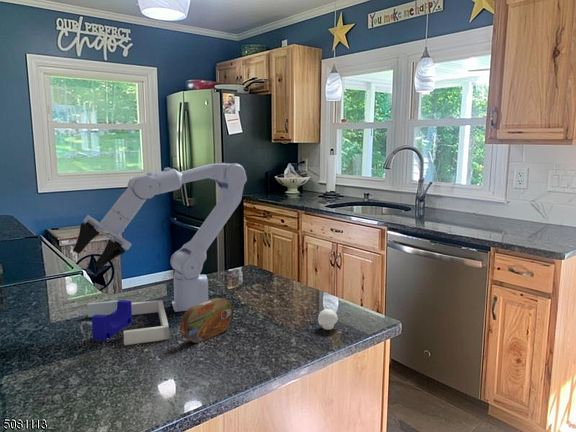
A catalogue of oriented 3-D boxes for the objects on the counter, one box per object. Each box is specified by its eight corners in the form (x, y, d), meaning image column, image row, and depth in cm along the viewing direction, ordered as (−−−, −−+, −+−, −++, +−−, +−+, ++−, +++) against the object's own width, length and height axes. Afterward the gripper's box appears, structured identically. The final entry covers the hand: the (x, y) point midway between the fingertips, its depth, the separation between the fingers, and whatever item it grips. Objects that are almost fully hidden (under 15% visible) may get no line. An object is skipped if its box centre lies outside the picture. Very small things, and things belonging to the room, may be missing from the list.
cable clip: (116, 321, 114) (115, 299, 113) (132, 322, 113) (131, 300, 112) (87, 340, 102) (85, 316, 101) (104, 342, 101) (103, 317, 101)
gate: (122, 314, 119) (121, 299, 118) (88, 318, 116) (87, 303, 115) (122, 312, 119) (122, 298, 119) (88, 316, 116) (87, 302, 116)
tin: (187, 348, 98) (186, 312, 97) (178, 344, 100) (177, 309, 99) (234, 327, 110) (234, 295, 109) (225, 324, 112) (225, 292, 111)
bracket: (162, 309, 122) (162, 299, 121) (169, 339, 103) (168, 327, 102) (124, 314, 118) (123, 303, 118) (124, 345, 99) (123, 332, 99)
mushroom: (323, 333, 107) (324, 314, 106) (314, 326, 111) (314, 307, 110) (341, 330, 109) (341, 311, 108) (331, 323, 113) (331, 305, 112)
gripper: (92, 196, 110) (56, 240, 107) (134, 223, 106) (98, 270, 103) (106, 206, 117) (73, 248, 114) (146, 232, 112) (113, 277, 109)
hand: (86, 259), depth 109 cm, fingers open, 7 cm apart
